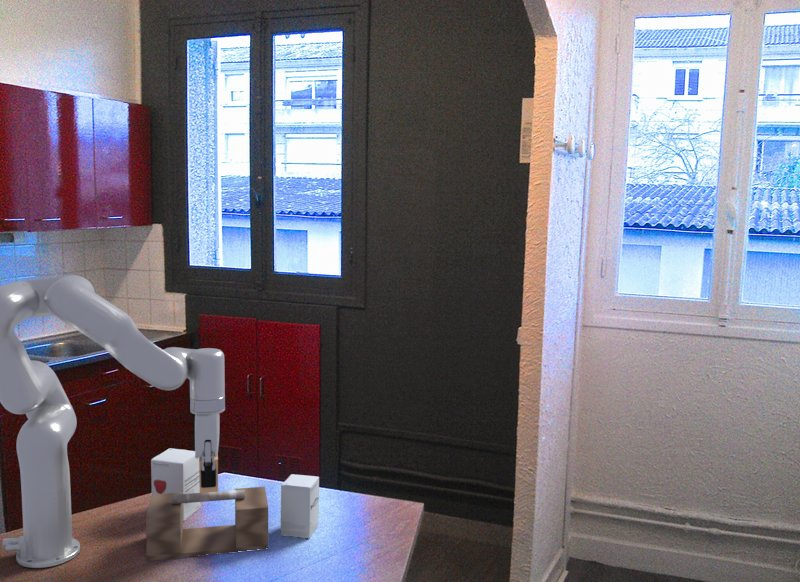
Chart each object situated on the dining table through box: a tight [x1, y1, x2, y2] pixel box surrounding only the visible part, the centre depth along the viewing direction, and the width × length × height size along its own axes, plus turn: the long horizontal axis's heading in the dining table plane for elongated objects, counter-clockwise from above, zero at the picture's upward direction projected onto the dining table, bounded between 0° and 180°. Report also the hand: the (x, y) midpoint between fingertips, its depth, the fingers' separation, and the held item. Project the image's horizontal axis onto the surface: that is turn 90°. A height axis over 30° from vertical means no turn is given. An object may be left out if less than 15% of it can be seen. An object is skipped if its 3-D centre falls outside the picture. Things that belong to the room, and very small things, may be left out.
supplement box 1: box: [150, 447, 202, 522], centre depth 182 cm, size 9×9×15 cm
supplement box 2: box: [280, 473, 320, 540], centre depth 174 cm, size 7×7×13 cm
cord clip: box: [199, 453, 219, 493], centre depth 165 cm, size 4×6×8 cm, turn 14°
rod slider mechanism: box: [145, 486, 269, 562], centre depth 167 cm, size 26×12×12 cm, turn 104°
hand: (208, 480), depth 166 cm, fingers closed on cord clip, 6 cm apart
